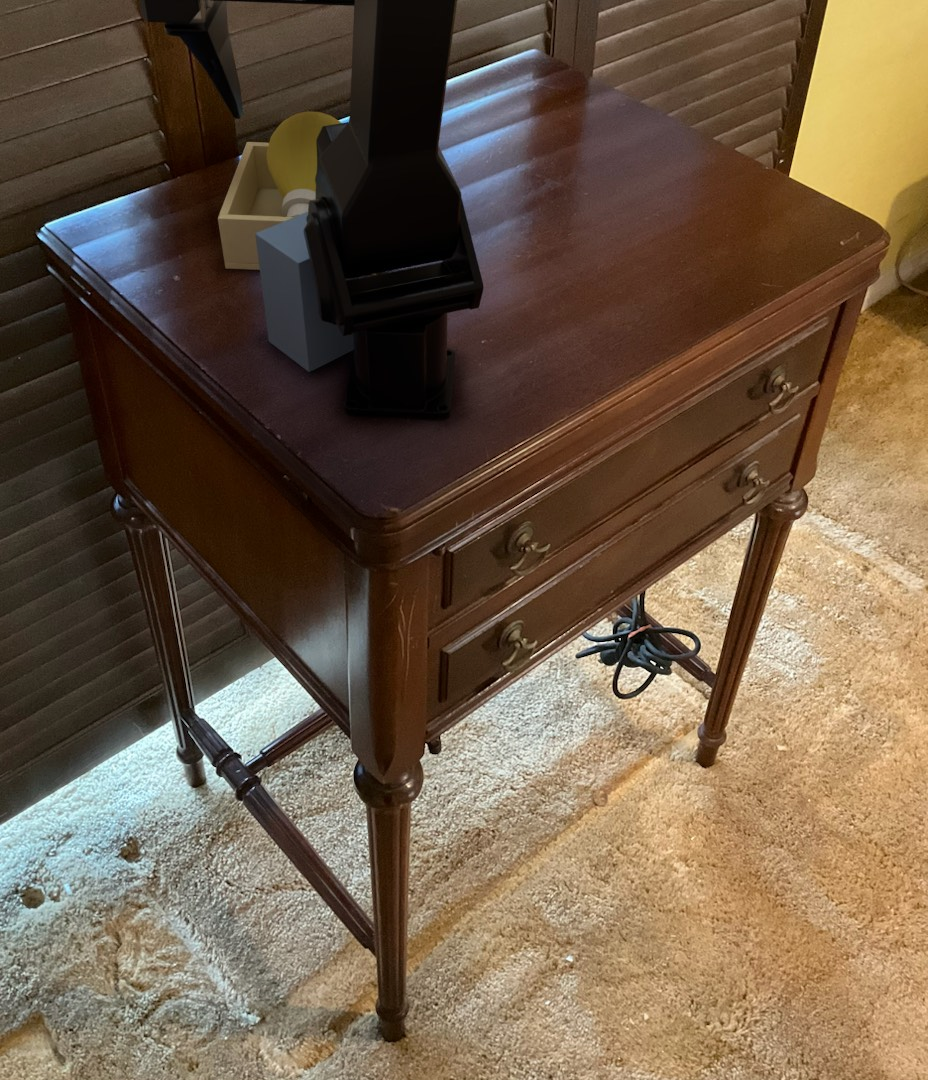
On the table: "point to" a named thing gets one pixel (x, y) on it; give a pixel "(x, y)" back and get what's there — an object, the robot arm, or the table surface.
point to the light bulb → (296, 159)
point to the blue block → (295, 298)
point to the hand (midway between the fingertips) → (305, 118)
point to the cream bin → (249, 208)
